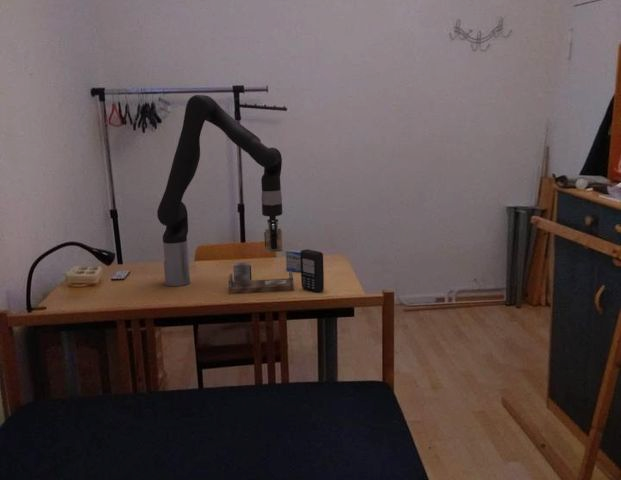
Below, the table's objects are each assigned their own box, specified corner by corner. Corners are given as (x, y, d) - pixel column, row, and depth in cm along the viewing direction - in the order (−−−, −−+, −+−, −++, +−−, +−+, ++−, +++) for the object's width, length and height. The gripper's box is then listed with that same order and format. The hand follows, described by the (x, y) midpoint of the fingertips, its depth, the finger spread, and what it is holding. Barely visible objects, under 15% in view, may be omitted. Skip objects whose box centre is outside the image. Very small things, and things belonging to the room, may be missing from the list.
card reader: (300, 288, 223) (298, 250, 220) (307, 286, 226) (306, 248, 222) (317, 293, 216) (316, 253, 213) (324, 291, 219) (323, 251, 216)
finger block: (265, 252, 220) (264, 231, 218) (265, 249, 224) (264, 229, 222) (282, 251, 221) (281, 230, 219) (282, 249, 225) (281, 228, 223)
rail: (229, 294, 219) (227, 268, 217) (230, 286, 229) (228, 261, 227) (293, 290, 221) (292, 264, 219) (292, 283, 231) (291, 258, 229)
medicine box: (286, 271, 249) (285, 251, 247) (291, 268, 253) (290, 248, 251) (302, 272, 245) (301, 252, 243) (307, 270, 249) (306, 250, 247)
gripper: (261, 200, 225) (263, 244, 229) (261, 205, 211) (264, 252, 215) (281, 199, 226) (283, 243, 229) (282, 204, 212) (284, 251, 215)
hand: (273, 247), depth 222 cm, fingers closed on finger block, 4 cm apart
